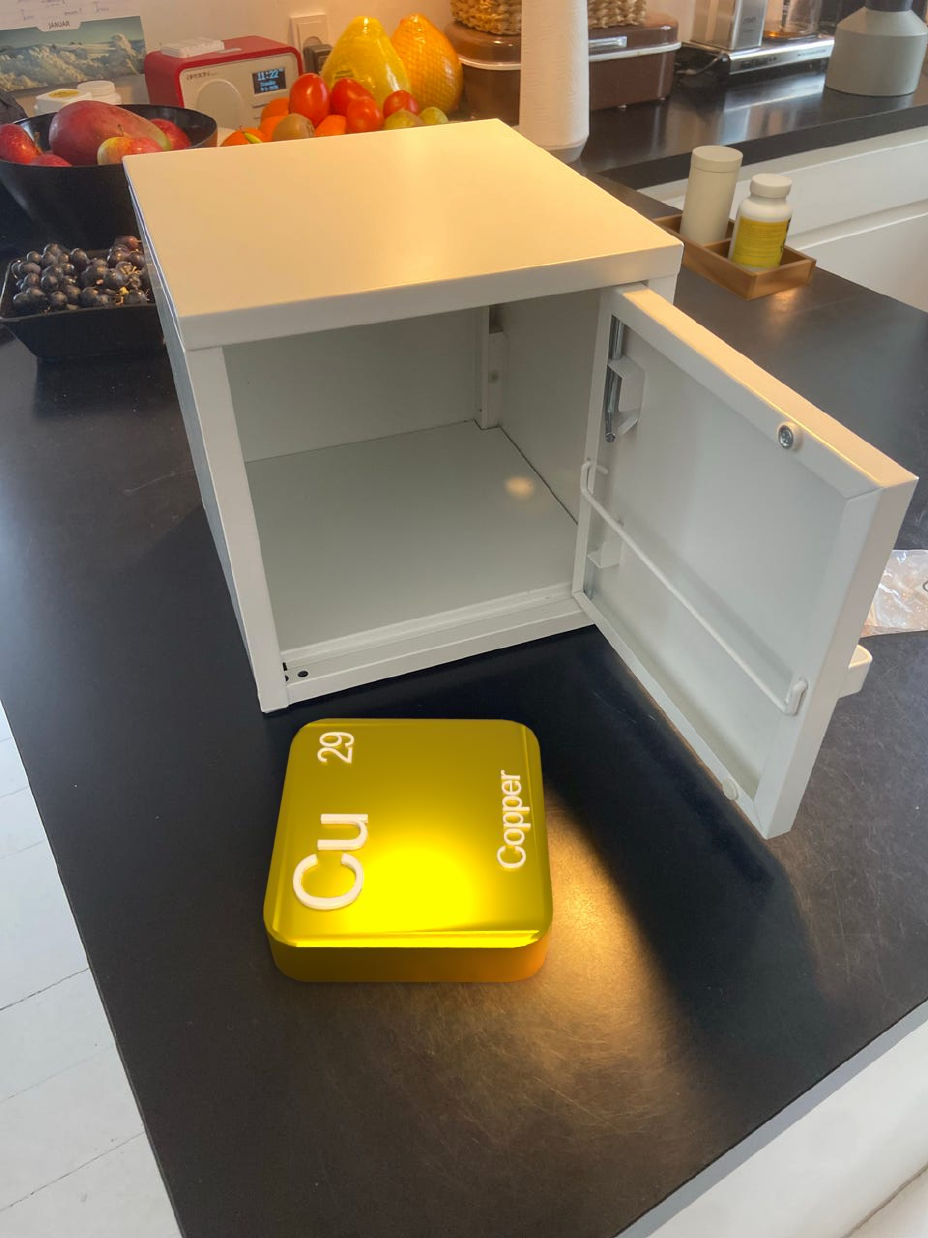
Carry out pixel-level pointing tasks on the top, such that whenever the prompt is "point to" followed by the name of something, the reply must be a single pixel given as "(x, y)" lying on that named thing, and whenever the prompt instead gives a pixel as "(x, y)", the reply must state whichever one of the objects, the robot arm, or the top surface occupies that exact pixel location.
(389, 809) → the element tile
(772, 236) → the pill bottle
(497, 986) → the top surface
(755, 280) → the tray
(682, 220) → the beige lidded canister
